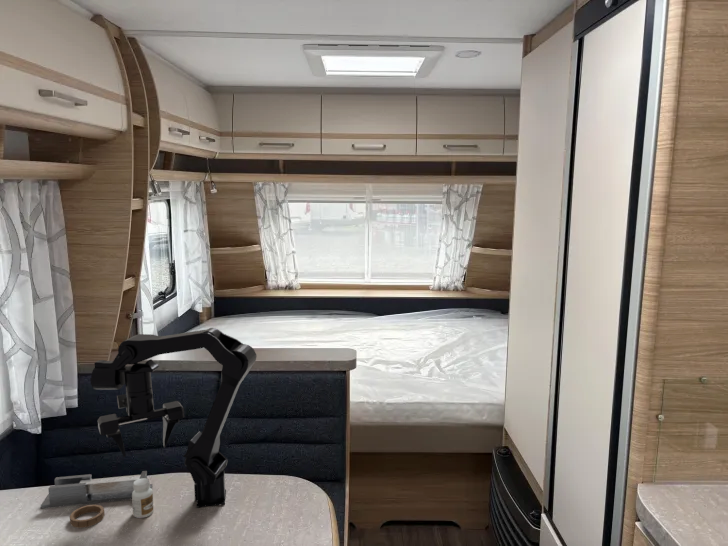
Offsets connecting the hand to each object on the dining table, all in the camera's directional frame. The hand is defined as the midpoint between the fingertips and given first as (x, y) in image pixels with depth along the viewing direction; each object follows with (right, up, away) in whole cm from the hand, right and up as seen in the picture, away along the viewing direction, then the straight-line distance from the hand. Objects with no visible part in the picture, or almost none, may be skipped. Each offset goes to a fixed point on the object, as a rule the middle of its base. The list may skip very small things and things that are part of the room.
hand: (145, 451), depth 138 cm
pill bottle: (+2, -13, -6) cm, 14 cm away
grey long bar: (-8, -10, +2) cm, 13 cm away
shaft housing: (-12, -12, +1) cm, 16 cm away
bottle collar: (-10, -13, -8) cm, 18 cm away
